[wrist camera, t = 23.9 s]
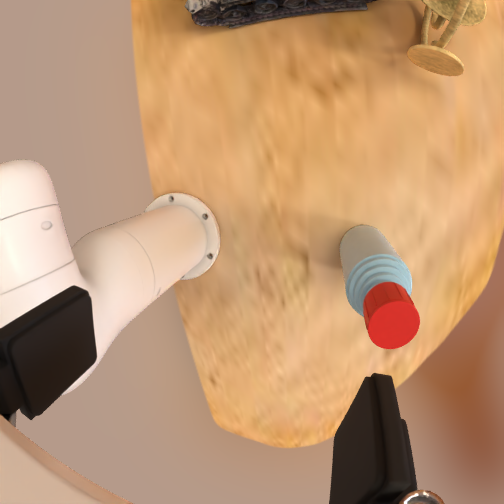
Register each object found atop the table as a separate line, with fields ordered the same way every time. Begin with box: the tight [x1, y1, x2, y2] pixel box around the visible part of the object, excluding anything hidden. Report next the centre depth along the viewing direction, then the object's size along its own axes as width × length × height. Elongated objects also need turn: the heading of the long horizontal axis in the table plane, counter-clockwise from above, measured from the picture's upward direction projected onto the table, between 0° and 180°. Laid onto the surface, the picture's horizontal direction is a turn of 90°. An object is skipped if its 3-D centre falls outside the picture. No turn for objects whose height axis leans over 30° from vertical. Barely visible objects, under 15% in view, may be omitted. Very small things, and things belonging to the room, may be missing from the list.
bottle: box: [340, 225, 412, 317], centre depth 30 cm, size 6×6×20 cm
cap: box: [363, 282, 420, 349], centre depth 22 cm, size 4×4×4 cm
